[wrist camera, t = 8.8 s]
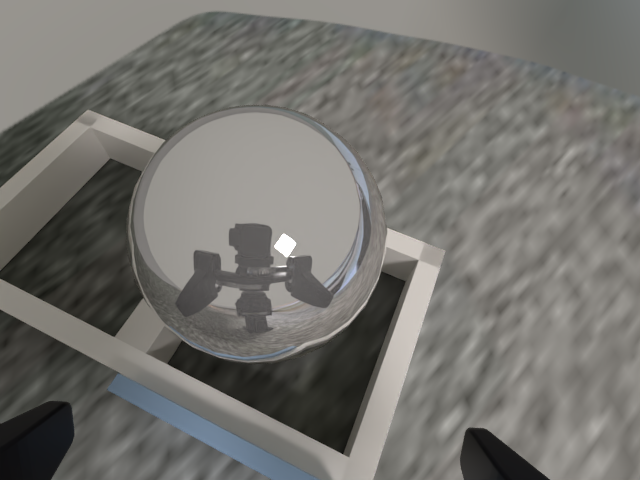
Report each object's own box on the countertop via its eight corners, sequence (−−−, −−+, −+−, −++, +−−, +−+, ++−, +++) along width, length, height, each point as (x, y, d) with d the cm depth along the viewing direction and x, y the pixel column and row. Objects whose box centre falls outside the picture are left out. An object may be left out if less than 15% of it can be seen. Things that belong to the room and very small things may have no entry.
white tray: (350, 512, 14) (363, 529, 11) (-50, 297, 18) (-122, 265, 15) (429, 273, 20) (452, 240, 17) (107, 141, 23) (78, 94, 20)
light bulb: (180, 378, 17) (-28, 253, 6) (235, 245, 20) (163, 19, 9) (332, 421, 16) (392, 364, 6) (363, 276, 19) (435, 72, 9)
